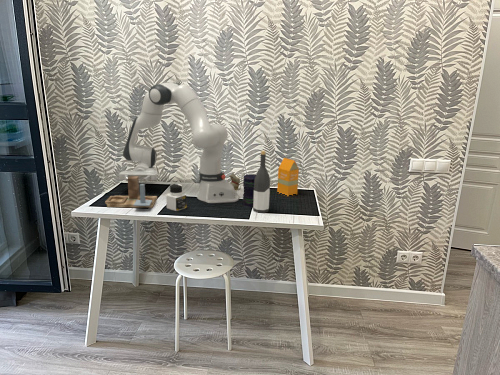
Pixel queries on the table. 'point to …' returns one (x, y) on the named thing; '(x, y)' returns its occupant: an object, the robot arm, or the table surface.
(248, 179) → the storage jar
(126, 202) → the board
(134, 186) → the walnut block
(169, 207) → the medicine bottle
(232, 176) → the chocolate bunny
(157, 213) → the table surface
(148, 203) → the grey post on base
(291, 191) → the orange juice
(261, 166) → the wine bottle
